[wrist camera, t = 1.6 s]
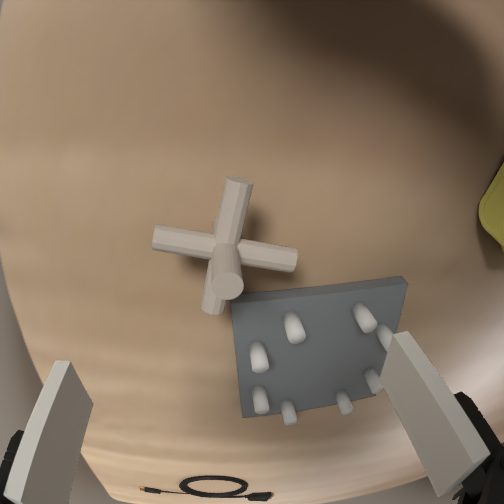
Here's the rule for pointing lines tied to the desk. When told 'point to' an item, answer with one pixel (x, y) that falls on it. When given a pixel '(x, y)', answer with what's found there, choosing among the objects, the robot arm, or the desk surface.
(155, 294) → the desk surface
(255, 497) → the cable
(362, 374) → the grey peg board
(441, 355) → the desk surface
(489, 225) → the plastic component
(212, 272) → the pipe connector
